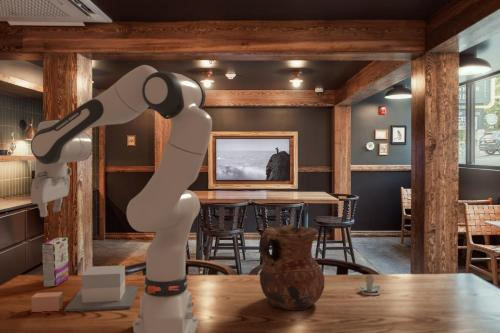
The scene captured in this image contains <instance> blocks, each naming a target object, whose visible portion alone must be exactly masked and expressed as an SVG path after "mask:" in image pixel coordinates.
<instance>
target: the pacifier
mask: <svg viewBox="0 0 500 333" xmlns="http://www.w3.org/2000/svg"><path fill="white" fill-rule="evenodd" d="M364 280H365V282H366V285H365V286H362V285H360V284H359V285H358V287H359V288H360V289H361V290H362V291H361V294H363V295H365V296H379V295H381V292H380V291H379V290H380V289H381V285H375V286H374V285H373V283H374V282H375V278H374V277H373V275H372V274H371V275H370V274H367V275H366V276H365V278H364Z"/></svg>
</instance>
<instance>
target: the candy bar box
mask: <svg viewBox="0 0 500 333" xmlns="http://www.w3.org/2000/svg"><path fill="white" fill-rule="evenodd" d="M41 254H42V256H41V257H42V283H43V285H42V286H56V285H57V284H59V283H60V282H62V281H64V280H65V279H67V278H68V277H69V278H70V266H69V260H70V259H69V237H56V238H52V239H51V240H48V241H47V242H44V243H42V244H41ZM67 280H68V279H67ZM64 282H65V281H64Z"/></svg>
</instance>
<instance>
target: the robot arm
mask: <svg viewBox="0 0 500 333" xmlns="http://www.w3.org/2000/svg"><path fill="white" fill-rule="evenodd" d="M205 102H206V91H205V89H204V86H202V84H201V83H200V82H198V81H197V80H195V79H194V78H192V77H191V78H190V77H188V76H185V75H184V74H181V73H176V72H171V71H166V70H165V71H164V70H160V71H158V70H157V69H156V68H154V67H153V66H151V65H147V64H142V65H140V66H137V67H136V68H133V69H132V70H130V71H129V72H127V73H126V74H124V75H123V76H122V77H121V78H119V79H118V80H117V81H116V82H115V83H114V84H112V85H111V86H109V88H107V89H106V90H104V91H103V92H101V93H100V94H98V95H96V96H95V97H93V98H92V99H90V100H88V101H86V102H85V103H82V104H80V105H79V106H77V108H75V109H74V110H72V111H70V113H68V114H67V115H66V116H65V115H64V117H63V118H61V119H46V120H45V119H44V120H42V121H41V122H39V123H38V127H37V129H36V130H37V131H36V133H35V134H34V136H33V137H32V139H31V142H30V150H31V154H33V156H34V158H35V177H34V178H33V180H32V182H31V188H30V189H31V190H30V202H31V204H34V205H36V204H37V206H38V210H39V216H40V218H47V217H48V216H49V210H47V206H48V203H49V202H53V201H54V204H53V205H54V206H52V208H53V209H52V211H53V212H54V213H57V212H61V206H62V203H63V198H65V197H68V195H69V192H70V186H71V185H70V184H71V178H70V176H71V175H72V168H70V167H69V165H67V164H68V163H76V162H77V163H79V162H84V161H87V160H88V159H89V158H90V157H91V155H92V152H93V141H92V139H91V137H90V136H89V135H88V134H87V133H85V132H86V131H88V130H90V129H92V128H96V127H101V126H108V125H109V126H110V125H120V124H121V125H123V124H126V123H129V122H130V121H132V120H134V119H136V118H137V117H139V116H140V115H141V114H142V113H143V112H145V111H146V110H147V109H148V108H149V107H150V108H151V109H152V110H153V111H155V112H156V113H158V114H159V115H160V116H161V117H162V118H163V119H165V120H170V121H171V129H170V132H169V135H168V139H167V141H166V144H165V147H164V150H163V153H162V154H161V155H162V156H161V158H160V162H159V164H158V167H157V168H156V170H155V172H154V174H153V175H152V177H151V178H150V179H149V181H147V184H146V185H145V186H144V187H143V189H141V191H140V192H139V193H138V194H137V195H135V197H133V198H132V199H131V200H129V202H128V205H127V207H126V220H127V222H128V223H129V226H131V228H132V229H134V230H135V231H136V232H141V233H143V232H144V233H155V235H154V238H153V239H152V241H151V243H150V244H149V245H148V247H147V249H146V252H145V255H146V257H145V258H146V260H145V261H146V263H145V264H146V266H145V268H146V269H145V270H146V273H145V274H146V276H145V277H144V285H143V286H144V293H143V294H142V295H140V297H139V298H140V304H139V305H140V307H139V308H140V311H139V312H140V313H138V316H137V318H138V319H136V320H135V321H133V323H132V329H133V330H132V331H133V333H196V331H197V329H198V326H199V324H200V318H199V317H197V316H194V311H193V310H194V309H193V307H194V302H193V293H191V291H189V290H188V274H186V257H187V256H186V253H187V252H186V251H187V245H188V240H189V236H190V232H191V228H192V225H193V223H194V222H195V219H197V217H198V215H199V213H200V210H201V203H200V199H199V197H198V195H197V194H196V193H195V192H193V191H192V190H189V189H188V188H189V187H190V186H191V185H192V184H193V183H194V182H196V180H197V178H198V176H199V174H200V171H201V168H202V165H203V162H204V161H205V160H204V159H205V156H206V153H207V150H208V147H209V144H210V140H211V135H212V129H213V118H212V117H211V116H210V114H209V113H208V112H206V111H205V110H204V109H202V108H204V106H205Z"/></svg>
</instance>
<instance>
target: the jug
mask: <svg viewBox="0 0 500 333" xmlns="http://www.w3.org/2000/svg"><path fill="white" fill-rule="evenodd" d="M318 233H319V230H318V229H316V228H315V227H314V228H313V227H310V226H309V227H305V226H302V225H300V226H299V227H298V226H294V225H292V224H291V225H290V224H288V225H287V224H286V225H282V226H279V227H272V226H269V227H266V228H265V229H263V232H262V234H261V236H260V238H259V239H260V240H259V244H258V246H259V253H260V258H262V262H263V266H262V268H261V270H260V273H259V283H260V288H261V290H262V292H263V294H264V297H265V298H266V299H267V300H268V301H269V303H270V304H271V305H272V306H273V307H275V308H278V309H281V310H287V311H295V312H296V311H303V310H307V309H309V308H311V306H313V305H314V304H315V303H316V302H318V301H319V299H321V297H322V295H323V293H324V288H325V282H326V281H325V278H326V277H325V275H324V272H323V269H322V267H321V266H320V265H319V263H318V262H317V261H316V260H315V258H314V257H313V255H312V248H313V243H314V240H315V237H316V236H317V235H318ZM270 247H271V248H270ZM270 249H271V252H270Z"/></svg>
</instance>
